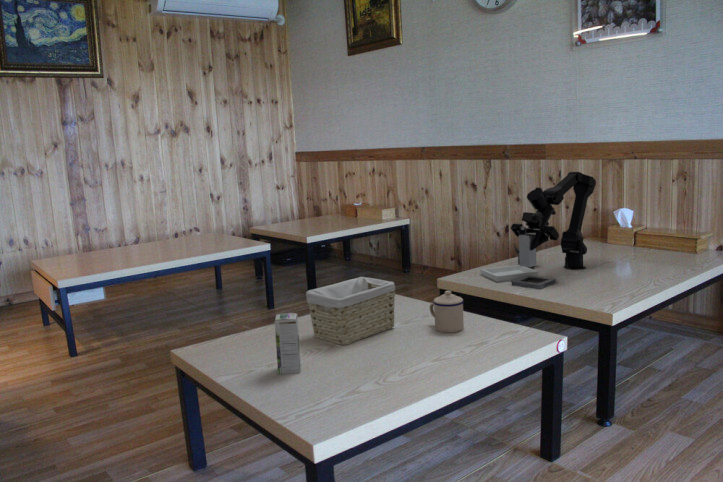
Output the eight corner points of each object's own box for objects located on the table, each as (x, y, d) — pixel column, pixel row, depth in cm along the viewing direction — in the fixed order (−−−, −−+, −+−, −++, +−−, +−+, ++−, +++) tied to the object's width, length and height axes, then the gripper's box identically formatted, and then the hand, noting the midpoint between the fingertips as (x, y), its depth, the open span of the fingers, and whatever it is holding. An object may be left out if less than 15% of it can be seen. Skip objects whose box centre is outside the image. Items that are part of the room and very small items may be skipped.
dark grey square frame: (527, 279, 239) (527, 275, 239) (556, 282, 231) (556, 278, 231) (511, 285, 231) (511, 281, 231) (540, 289, 223) (540, 285, 222)
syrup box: (279, 367, 160) (274, 314, 157) (301, 365, 160) (297, 312, 158) (278, 375, 154) (273, 320, 152) (301, 373, 154) (296, 318, 152)
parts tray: (519, 270, 255) (519, 264, 255) (538, 277, 241) (538, 271, 240) (480, 275, 251) (480, 269, 250) (497, 282, 236) (497, 276, 236)
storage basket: (341, 348, 171) (338, 298, 169) (306, 337, 183) (303, 290, 181) (399, 328, 187) (397, 281, 185) (364, 319, 199) (361, 275, 197)
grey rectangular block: (526, 263, 235) (525, 233, 233) (536, 265, 232) (535, 234, 230) (519, 265, 233) (518, 235, 231) (529, 267, 229) (528, 236, 227)
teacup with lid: (470, 327, 183) (469, 290, 181) (451, 335, 177) (449, 296, 175) (440, 320, 192) (439, 284, 190) (421, 327, 186) (419, 290, 184)
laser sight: (536, 260, 274) (535, 238, 273) (538, 271, 253) (538, 247, 251) (513, 260, 277) (513, 239, 275) (514, 271, 255) (514, 248, 254)
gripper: (512, 203, 238) (495, 234, 233) (554, 205, 224) (537, 238, 219) (525, 220, 244) (509, 251, 239) (566, 223, 230) (550, 256, 225)
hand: (525, 249), depth 230 cm, fingers closed on grey rectangular block, 4 cm apart
